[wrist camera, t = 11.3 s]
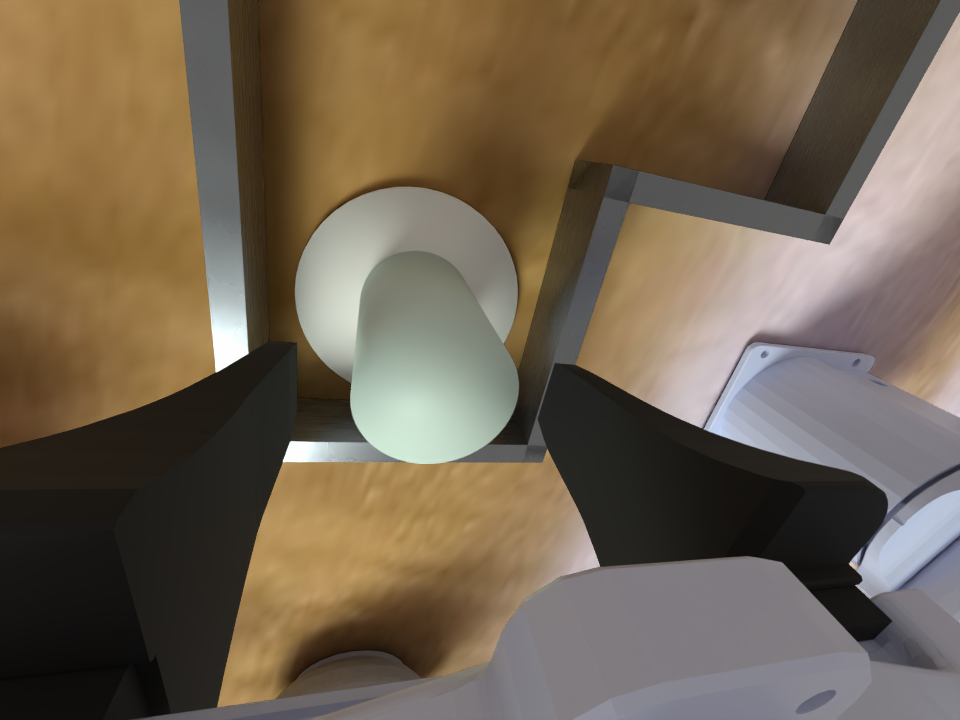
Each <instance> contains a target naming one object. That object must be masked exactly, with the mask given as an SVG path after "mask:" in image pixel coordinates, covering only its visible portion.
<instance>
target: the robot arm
mask: <svg viewBox="0 0 960 720" xmlns="http://www.w3.org/2000/svg"><path fill="white" fill-rule="evenodd" d="M874 363H875V358H874V357H873V356H870V355H868V354H862V353H853V352H844V351H835V350H825V349H816V348H807V347H798V346H789V345H779V344H770V343H761V342H754V343H752V344H750V345H749V346H748V347H747V348H746V350H745V352H744V354H743V356H742V358H741V359H740V361H739V363H738V365H737V367H736V369H735V371H734V373H733V375H732V376H731V378H730V380H729V382H728V384H727V386H726V388H725V390H724V392H723V393H722V395H721V397H720V399H719V401H718V403H717V405H716V407H715V409H714V410H713V412H712V414H711V416H710V418H709V420H708V422H707V424H706V426H705V427H704V429H702V428H699V427H697V426H695V425H692V424H690V423H688V422H685V421H683V420H681V419H678V418H676V417H674V416H672V415H670V414H668V413H665V412H663V411H661V410H660V409H658V408H656V407H654V406H652V405H650V404H648V403H646V402H644V401H642V400H640V399H638V398H636V397H635V396H633V395H631V394H629V393H627V392H626V391H624V390H622V389H620V388H618V387H617V386H615V385H613V384H611V383H609V382H608V381H606V380H604V379H602V378H600V377H599V376H597V375H595V374H593V373H591V372H589V371H587V370H585V369H583V368H581V367H578V366H576V365H573V364H560V363H555V364H554V367H553V370H552V374H551V377H550V380H549V383H548V386H547V390H546V393H545V396H544V399H543V403H542V406H541V409H540V412H539V416H538V422H539V425H540V429H541V432H542V435H543V438H544V441H545V444H546V447H547V449H548V451H549V453H550V455H551V457H552V459H553V461H554V463H555V465H556V467H557V469H558V471H559V473H560V475H561V477H562V479H563V480H564V482H565V484H566V486H567V488H568V490H569V492H570V494H571V496H572V498H573V500H574V502H575V504H576V506H577V508H578V510H579V512H580V514H581V517H582V519H583V521H584V523H585V526H586V529H587V531H588V534H589V537H590V539H591V542H592V544H593V547H594V550H595V552H596V555H597V558H598V561H599V564H600V567H597V568H593V569H589V570H585V571H581V572H577V573H573V574H569V575H565V576H561V577H559V578H557V579H556V580H554V581H552V582H551V583H549V584H548V585H546V586H544V587H543V588H541V589H539V590H538V591H536V592H534V593H533V594H531V595H530V596H528V597H526V598H525V600H524V601H523V602H522V604H521V605H520V606H519V608H518V609H517V610H516V612H515V613H514V614H513V616H512V617H511V618H510V620H509V621H508V622H507V624H506V625H505V627H504V629H503V630H502V632H501V635H500V637H499V640H498V643H497V646H496V648H495V651H494V654H493V657H492V660H491V662H487V663H484V664H480V665H477V666H474V667H471V668H468V669H465V670H461V671H458V672H455V673H452V674H449V675H446V676H438V677H431V678H424V679H417V680H410V681H403V682H396V683H389V684H381V685H374V686H367V687H360V688H353V689H346V690H339V691H332V692H325V693H317V694H310V695H303V696H296V697H289V698H282V699H275V700H268V701H260V702H253V703H246V704H239V705H232V706H225V707H218V708H217V705H218V700H219V695H220V690H221V685H222V681H223V676H224V671H225V667H226V662H227V658H228V653H229V649H230V644H231V640H232V635H233V631H234V626H235V622H236V618H237V613H238V609H239V605H240V601H241V597H242V592H243V588H244V584H245V580H246V575H247V571H248V567H249V563H250V559H251V555H252V552H253V548H254V544H255V540H256V536H257V532H258V529H259V526H260V523H261V520H262V516H263V514H264V511H265V508H266V506H267V503H268V500H269V498H270V495H271V492H272V490H273V487H274V484H275V482H276V479H277V476H278V474H279V471H280V468H281V465H282V463H283V460H284V457H285V455H286V452H287V449H288V446H289V443H290V440H291V436H292V431H293V427H294V422H295V417H296V412H297V343H293V342H280V341H269V342H267V343H265V344H263V345H262V346H260V347H258V348H257V349H255V350H253V351H252V352H250V353H249V354H247V355H245V356H244V357H242V358H240V359H239V360H237V361H235V362H233V363H232V364H230V365H228V366H227V367H225V368H223V369H222V370H220V371H218V372H216V373H214V374H212V375H210V376H208V377H206V378H204V379H202V380H201V381H199V382H197V383H195V384H193V385H191V386H189V387H187V388H185V389H183V390H181V391H178V392H176V393H174V394H172V395H169V396H167V397H165V398H162V399H160V400H157V401H155V402H152V403H150V404H147V405H145V406H142V407H140V408H137V409H134V410H132V411H129V412H126V413H123V414H119V415H116V416H113V417H110V418H107V419H104V420H101V421H98V422H95V423H92V424H89V425H86V426H83V427H80V428H76V429H73V430H69V431H65V432H62V433H58V434H54V435H51V436H47V437H44V438H39V439H35V440H31V441H27V442H23V443H19V444H15V445H11V446H7V447H2V448H0V720H960V418H959V417H957V416H955V415H953V414H951V413H949V412H947V411H945V410H943V409H941V408H939V407H937V406H934V405H932V404H930V403H928V402H926V401H924V400H922V399H920V398H918V397H916V396H914V395H912V394H910V393H908V392H906V391H904V390H901V389H899V388H897V387H895V386H893V385H891V384H889V383H887V382H885V381H883V380H881V379H879V378H877V377H875V376H873V375H871V374H868V372H869V370H870V369H871V367H872V366H873V364H874ZM850 561H851V562H852V563H853V564H854V565H855V566H857V567H858V569H857V570H855V569H853V568H852V567H851V566H850V565H849V563H850ZM855 585H857V586H858V587H859V588H860V589H861V590H862V591H863V592H864V593H865V594H866V595H868V596H869V597H867V596H866V595H865V594H863V593H862V592H861V591H860V590H859V589H858V588H857V587H856V586H855Z"/></svg>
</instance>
